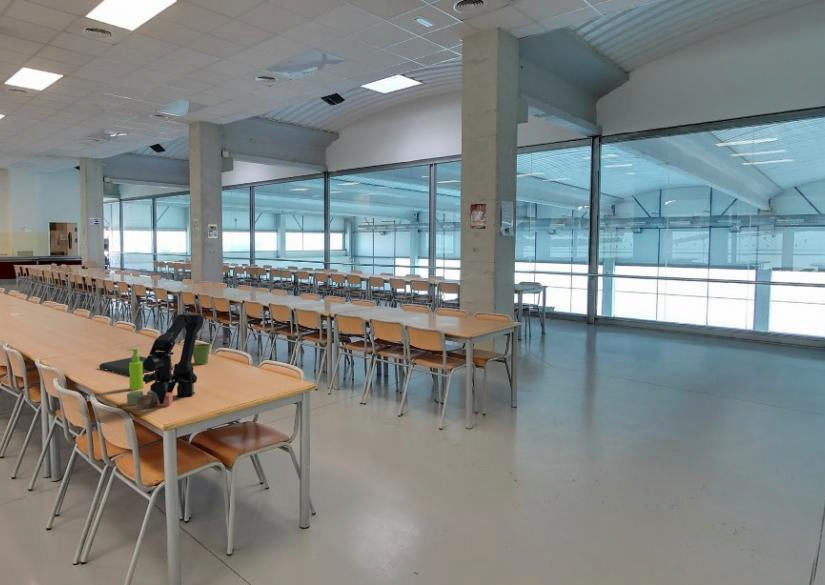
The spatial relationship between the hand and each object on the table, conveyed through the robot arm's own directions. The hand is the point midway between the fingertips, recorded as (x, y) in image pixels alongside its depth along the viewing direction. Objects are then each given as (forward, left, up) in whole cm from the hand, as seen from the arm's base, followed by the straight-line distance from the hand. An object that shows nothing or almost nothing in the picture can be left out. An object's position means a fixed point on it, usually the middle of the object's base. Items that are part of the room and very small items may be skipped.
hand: (165, 400), depth 241 cm
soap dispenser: (+23, -29, -2) cm, 38 cm away
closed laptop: (+39, -73, -3) cm, 83 cm away
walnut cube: (+8, +3, -2) cm, 8 cm away
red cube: (0, 0, -2) cm, 2 cm away
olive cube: (+14, -3, -2) cm, 15 cm away
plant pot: (+6, -84, -2) cm, 85 cm away
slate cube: (+6, -6, -2) cm, 9 cm away
